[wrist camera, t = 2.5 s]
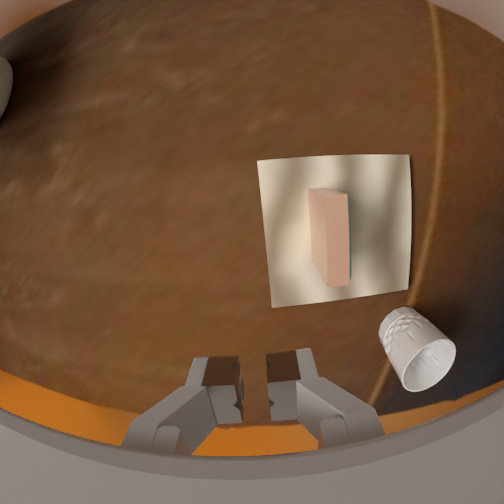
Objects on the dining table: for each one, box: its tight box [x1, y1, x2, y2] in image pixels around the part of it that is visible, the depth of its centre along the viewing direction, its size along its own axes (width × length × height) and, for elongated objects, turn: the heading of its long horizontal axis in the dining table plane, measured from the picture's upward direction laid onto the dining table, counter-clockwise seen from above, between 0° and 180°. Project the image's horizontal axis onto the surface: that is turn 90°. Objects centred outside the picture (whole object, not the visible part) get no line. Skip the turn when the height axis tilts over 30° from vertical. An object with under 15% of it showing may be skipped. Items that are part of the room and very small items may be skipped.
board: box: [257, 155, 411, 308], centre depth 32 cm, size 18×17×1 cm
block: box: [307, 188, 351, 287], centre depth 27 cm, size 2×8×8 cm, turn 6°
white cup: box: [379, 306, 456, 392], centre depth 31 cm, size 8×8×10 cm
